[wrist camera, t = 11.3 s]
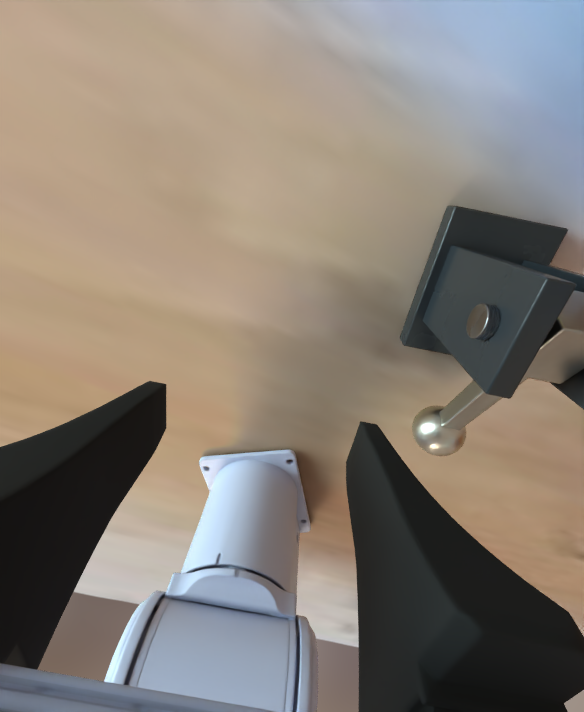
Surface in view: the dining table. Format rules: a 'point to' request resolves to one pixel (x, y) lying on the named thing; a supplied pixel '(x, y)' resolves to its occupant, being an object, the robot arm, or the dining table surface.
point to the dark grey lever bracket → (492, 298)
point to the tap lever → (552, 364)
